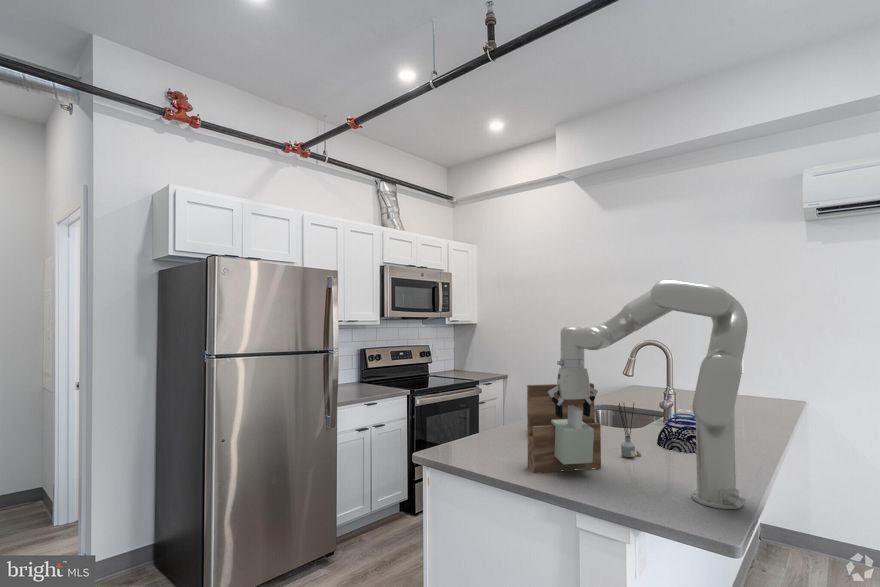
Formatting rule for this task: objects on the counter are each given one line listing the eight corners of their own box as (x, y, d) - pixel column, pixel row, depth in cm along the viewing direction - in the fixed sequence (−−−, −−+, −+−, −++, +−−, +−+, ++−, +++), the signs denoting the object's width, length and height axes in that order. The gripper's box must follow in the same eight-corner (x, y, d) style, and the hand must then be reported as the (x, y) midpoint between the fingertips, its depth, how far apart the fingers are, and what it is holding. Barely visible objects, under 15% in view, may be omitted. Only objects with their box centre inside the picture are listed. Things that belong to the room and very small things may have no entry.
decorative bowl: (721, 447, 189) (720, 410, 189) (704, 457, 175) (703, 418, 175) (668, 438, 203) (668, 404, 204) (649, 446, 189) (648, 410, 190)
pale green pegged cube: (592, 462, 153) (594, 410, 152) (563, 464, 152) (565, 412, 151) (576, 450, 164) (578, 401, 163) (549, 451, 162) (551, 402, 161)
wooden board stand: (601, 468, 161) (599, 385, 163) (534, 473, 157) (534, 387, 158) (592, 463, 167) (591, 383, 169) (527, 467, 163) (527, 384, 164)
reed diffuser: (625, 460, 170) (624, 404, 171) (610, 455, 176) (609, 401, 177) (644, 457, 175) (643, 402, 176) (629, 452, 181) (628, 399, 182)
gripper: (552, 365, 152) (553, 420, 151) (602, 364, 155) (603, 417, 154) (543, 363, 159) (543, 415, 158) (590, 362, 162) (591, 413, 162)
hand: (573, 416), depth 156 cm, fingers open, 9 cm apart
